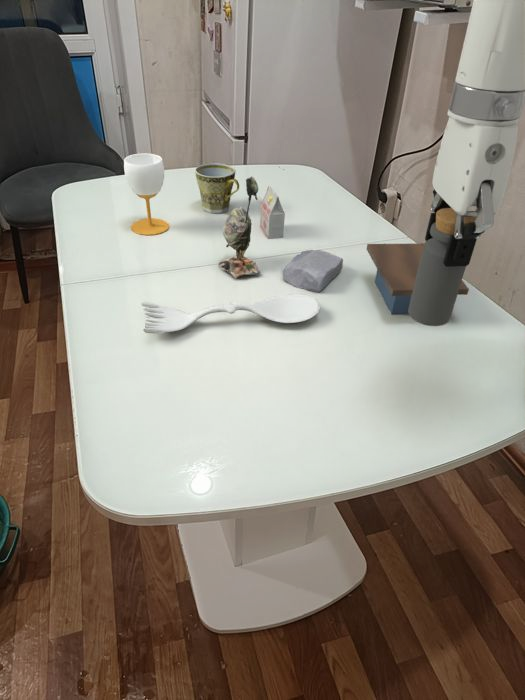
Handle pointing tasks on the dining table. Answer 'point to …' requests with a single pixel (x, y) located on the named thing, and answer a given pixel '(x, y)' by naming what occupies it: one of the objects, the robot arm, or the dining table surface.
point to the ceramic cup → (216, 186)
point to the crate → (392, 298)
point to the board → (400, 266)
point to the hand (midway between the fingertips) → (445, 251)
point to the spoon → (272, 309)
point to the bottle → (436, 275)
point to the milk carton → (272, 215)
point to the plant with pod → (240, 236)
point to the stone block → (312, 269)
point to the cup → (146, 188)
